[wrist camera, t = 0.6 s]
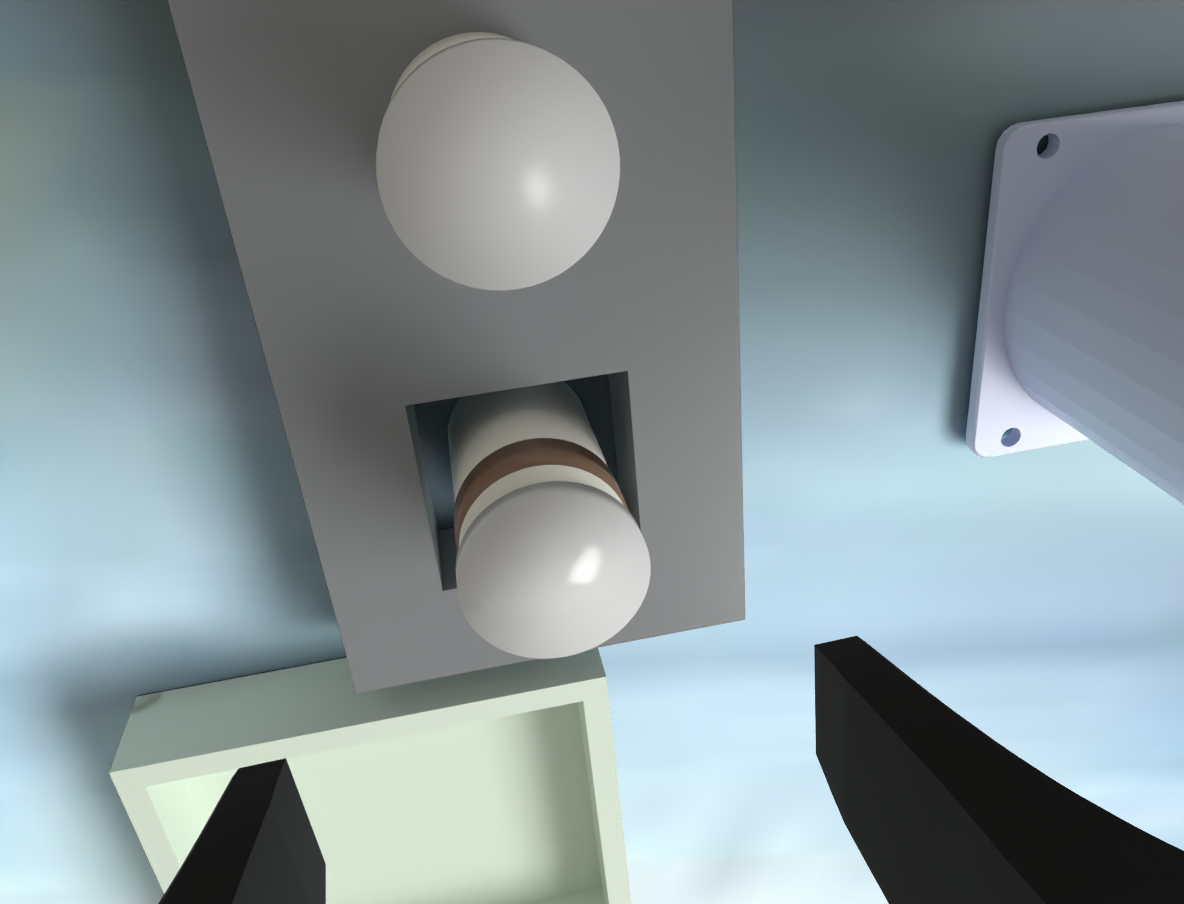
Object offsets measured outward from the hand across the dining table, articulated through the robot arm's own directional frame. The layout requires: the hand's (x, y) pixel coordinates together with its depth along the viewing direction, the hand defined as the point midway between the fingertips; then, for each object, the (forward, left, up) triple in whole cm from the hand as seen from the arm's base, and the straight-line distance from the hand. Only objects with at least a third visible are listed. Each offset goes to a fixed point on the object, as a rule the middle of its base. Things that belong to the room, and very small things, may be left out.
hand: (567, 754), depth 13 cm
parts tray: (+4, +11, -10) cm, 15 cm away
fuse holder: (0, -3, -10) cm, 11 cm away
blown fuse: (0, 0, -10) cm, 10 cm away
